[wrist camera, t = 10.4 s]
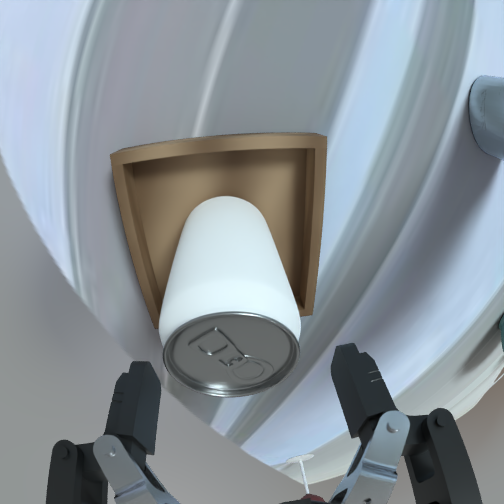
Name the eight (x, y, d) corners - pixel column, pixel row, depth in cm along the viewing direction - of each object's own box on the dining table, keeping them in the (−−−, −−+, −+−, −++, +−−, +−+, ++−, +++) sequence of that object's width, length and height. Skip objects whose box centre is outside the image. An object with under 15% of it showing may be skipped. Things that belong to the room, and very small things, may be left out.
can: (219, 283, 23) (223, 413, 13) (165, 229, 20) (121, 353, 10) (283, 240, 22) (334, 361, 11) (233, 176, 19) (248, 269, 8)
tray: (314, 132, 18) (327, 136, 16) (305, 297, 26) (312, 315, 24) (122, 148, 17) (109, 154, 15) (158, 310, 25) (154, 328, 22)
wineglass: (299, 453, 52) (314, 521, 35) (321, 454, 55) (337, 515, 38) (277, 462, 55) (289, 526, 37) (300, 463, 58) (313, 521, 41)
